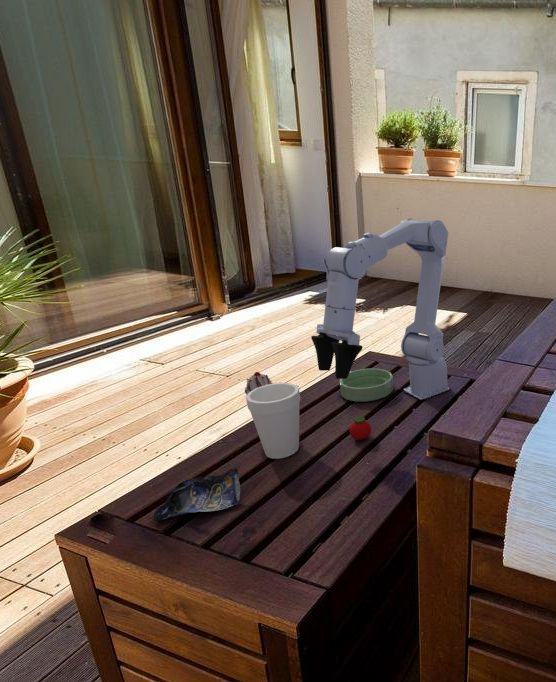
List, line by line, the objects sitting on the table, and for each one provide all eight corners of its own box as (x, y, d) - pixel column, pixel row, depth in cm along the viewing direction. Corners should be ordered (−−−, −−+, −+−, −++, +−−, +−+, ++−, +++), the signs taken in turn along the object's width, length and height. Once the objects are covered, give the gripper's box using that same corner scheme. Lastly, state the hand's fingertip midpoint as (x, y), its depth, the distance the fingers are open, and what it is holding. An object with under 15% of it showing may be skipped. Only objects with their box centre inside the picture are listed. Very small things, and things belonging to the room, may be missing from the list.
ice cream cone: (287, 429, 104) (277, 367, 100) (273, 443, 99) (261, 377, 94) (262, 428, 105) (251, 366, 100) (247, 441, 100) (235, 376, 95)
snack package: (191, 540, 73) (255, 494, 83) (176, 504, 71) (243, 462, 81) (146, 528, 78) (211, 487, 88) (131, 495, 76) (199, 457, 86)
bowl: (376, 377, 132) (375, 364, 131) (403, 392, 123) (402, 378, 122) (332, 391, 123) (330, 377, 122) (357, 408, 115) (355, 393, 113)
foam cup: (246, 455, 95) (235, 397, 90) (284, 434, 102) (275, 379, 98) (280, 467, 91) (270, 407, 86) (316, 444, 99) (309, 388, 94)
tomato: (365, 431, 104) (363, 412, 103) (375, 438, 101) (374, 419, 100) (346, 438, 101) (344, 418, 100) (357, 446, 98) (355, 426, 97)
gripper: (305, 302, 96) (298, 366, 98) (338, 310, 86) (330, 382, 88) (337, 305, 102) (330, 366, 103) (372, 313, 92) (364, 381, 93)
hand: (332, 374), depth 96 cm, fingers open, 7 cm apart
